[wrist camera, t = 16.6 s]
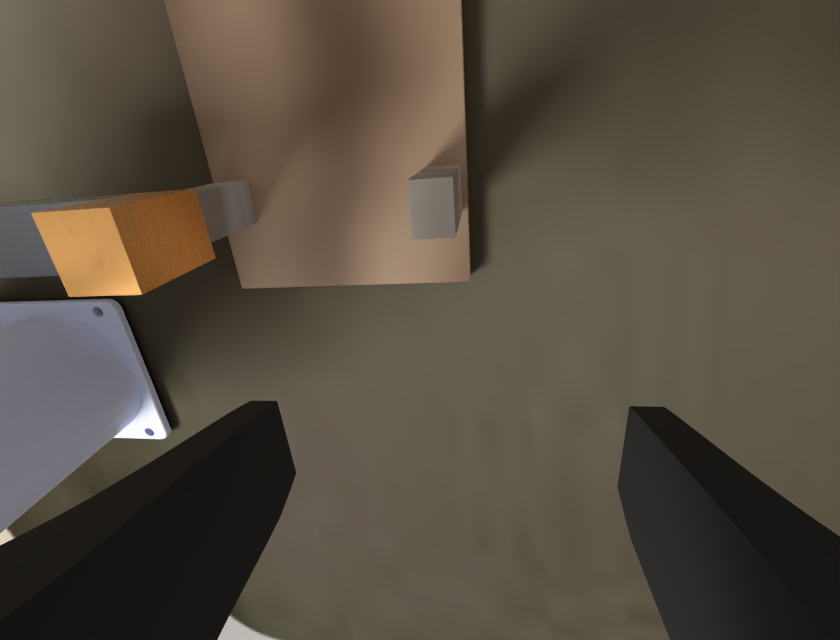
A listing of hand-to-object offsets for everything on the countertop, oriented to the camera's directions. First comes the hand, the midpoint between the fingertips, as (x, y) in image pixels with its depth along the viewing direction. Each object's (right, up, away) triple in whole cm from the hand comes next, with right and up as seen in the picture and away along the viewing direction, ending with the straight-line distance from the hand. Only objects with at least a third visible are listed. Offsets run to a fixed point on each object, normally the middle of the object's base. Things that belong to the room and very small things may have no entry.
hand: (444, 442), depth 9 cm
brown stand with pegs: (-4, +9, +7) cm, 12 cm away
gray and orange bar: (-11, +5, +4) cm, 13 cm away
